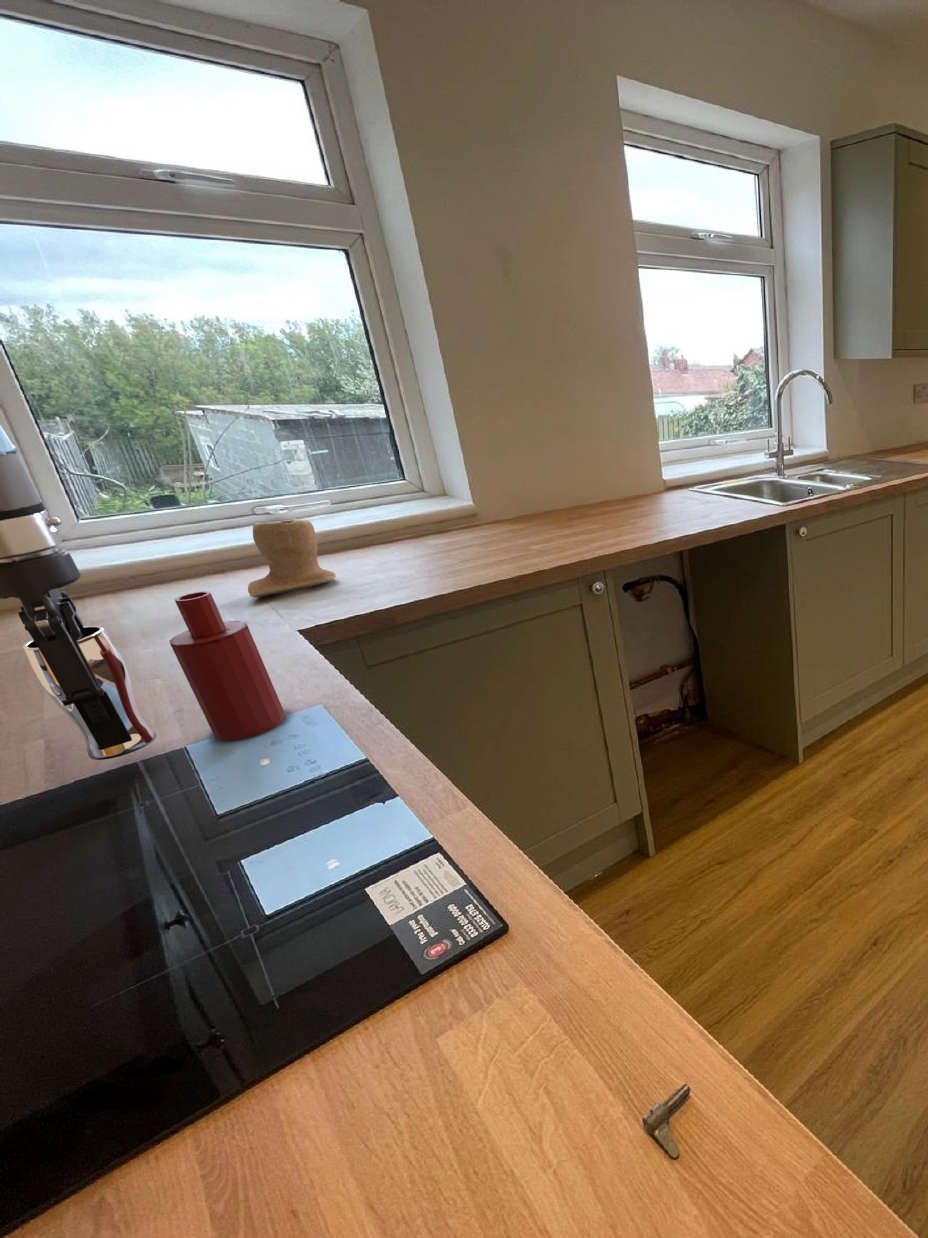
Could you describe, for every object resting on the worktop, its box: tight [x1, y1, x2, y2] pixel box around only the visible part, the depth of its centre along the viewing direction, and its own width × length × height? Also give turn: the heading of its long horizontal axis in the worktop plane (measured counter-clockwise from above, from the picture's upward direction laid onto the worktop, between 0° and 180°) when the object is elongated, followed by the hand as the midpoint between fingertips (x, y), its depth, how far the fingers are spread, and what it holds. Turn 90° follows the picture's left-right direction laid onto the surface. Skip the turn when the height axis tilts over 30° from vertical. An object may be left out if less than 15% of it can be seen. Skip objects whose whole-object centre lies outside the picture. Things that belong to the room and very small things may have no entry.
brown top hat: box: [247, 518, 337, 598], centre depth 144 cm, size 15×12×15 cm
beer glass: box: [22, 625, 157, 761], centre depth 81 cm, size 7×7×15 cm
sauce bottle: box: [169, 590, 286, 742], centre depth 88 cm, size 8×8×19 cm
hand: (116, 733), depth 83 cm, fingers closed on beer glass, 6 cm apart
